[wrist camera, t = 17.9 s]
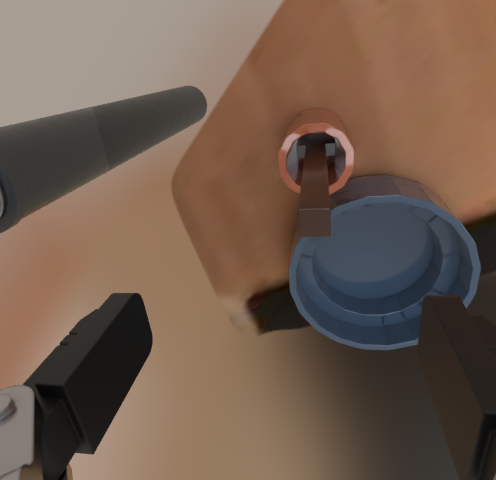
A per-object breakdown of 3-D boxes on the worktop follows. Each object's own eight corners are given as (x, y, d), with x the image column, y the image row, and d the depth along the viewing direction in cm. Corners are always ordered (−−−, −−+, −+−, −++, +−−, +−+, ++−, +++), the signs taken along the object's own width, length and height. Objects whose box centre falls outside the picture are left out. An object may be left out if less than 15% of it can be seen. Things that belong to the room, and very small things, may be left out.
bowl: (296, 309, 41) (293, 347, 36) (288, 177, 34) (283, 200, 29) (444, 311, 38) (464, 353, 33) (466, 168, 31) (496, 190, 26)
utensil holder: (288, 169, 34) (280, 199, 27) (284, 111, 32) (275, 126, 25) (346, 166, 33) (353, 195, 26) (346, 105, 31) (355, 120, 24)
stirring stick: (299, 149, 32) (281, 238, 17) (298, 133, 32) (279, 209, 16) (333, 146, 32) (349, 237, 16) (333, 130, 31) (350, 207, 15)
